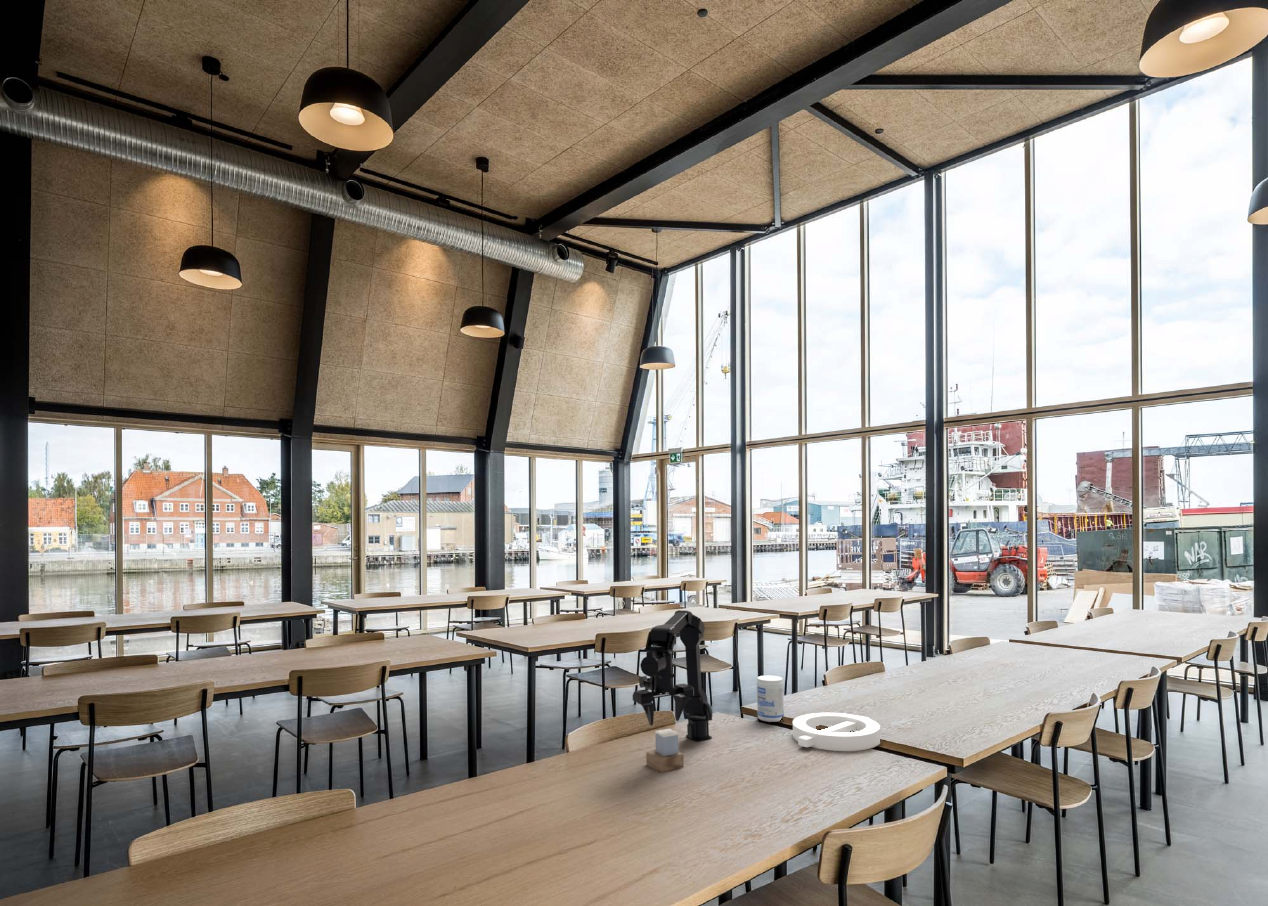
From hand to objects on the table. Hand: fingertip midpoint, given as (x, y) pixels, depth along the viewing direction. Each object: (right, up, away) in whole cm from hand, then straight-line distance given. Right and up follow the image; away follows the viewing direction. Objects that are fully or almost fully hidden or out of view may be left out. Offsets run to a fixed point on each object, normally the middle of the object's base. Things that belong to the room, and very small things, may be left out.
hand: (664, 722), depth 212 cm
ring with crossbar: (+58, -14, +23) cm, 64 cm away
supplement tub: (+41, -16, +46) cm, 64 cm away
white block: (+1, -9, 0) cm, 9 cm away
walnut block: (0, -13, -1) cm, 13 cm away
